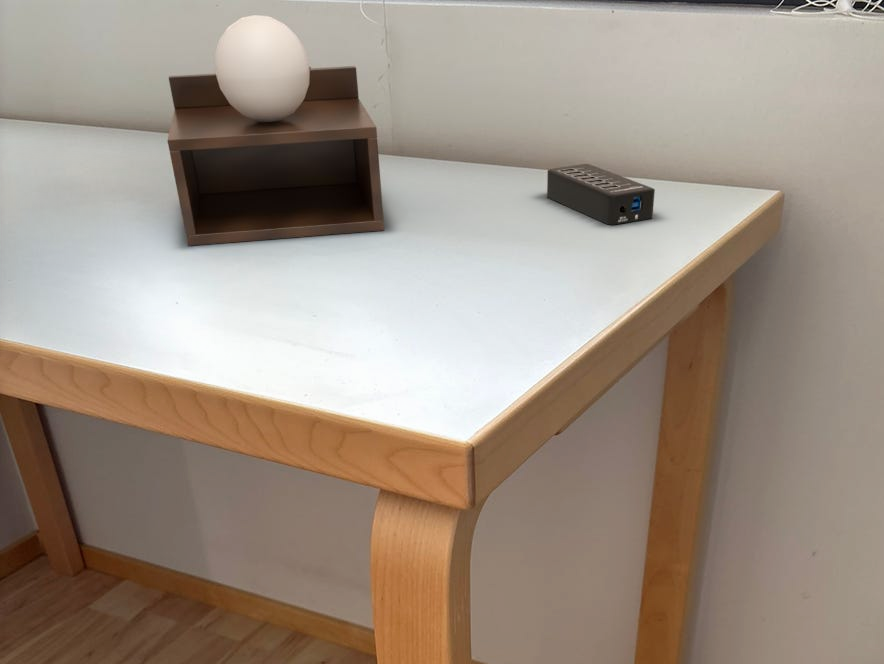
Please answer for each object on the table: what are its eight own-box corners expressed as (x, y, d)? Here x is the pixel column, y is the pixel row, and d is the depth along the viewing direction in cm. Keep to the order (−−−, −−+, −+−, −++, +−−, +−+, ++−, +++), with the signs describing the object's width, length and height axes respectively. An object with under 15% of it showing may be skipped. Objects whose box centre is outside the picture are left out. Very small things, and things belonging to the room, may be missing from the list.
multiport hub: (586, 190, 91) (587, 162, 90) (654, 217, 83) (657, 188, 82) (545, 196, 90) (545, 168, 88) (610, 225, 82) (612, 195, 80)
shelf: (188, 245, 80) (160, 104, 74) (192, 202, 91) (168, 75, 84) (384, 230, 82) (373, 91, 76) (365, 189, 93) (355, 65, 87)
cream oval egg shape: (327, 125, 78) (316, 16, 74) (234, 134, 76) (217, 23, 71) (294, 104, 86) (282, 4, 81) (208, 113, 83) (191, 10, 79)
